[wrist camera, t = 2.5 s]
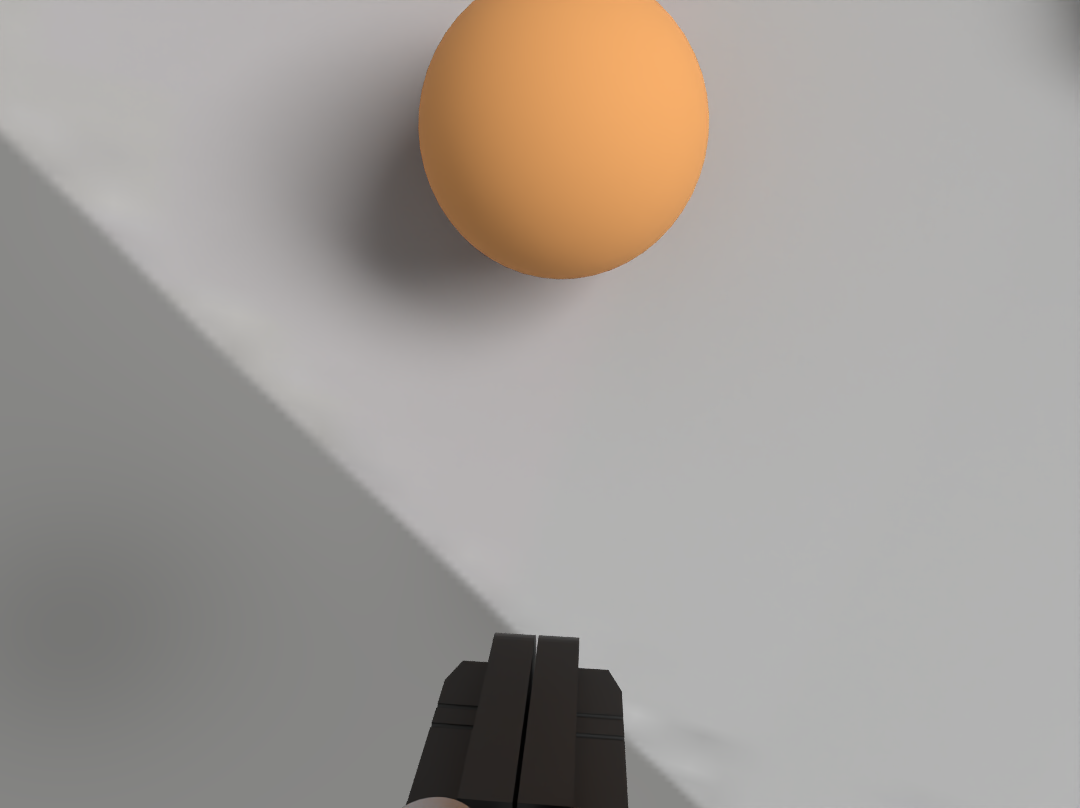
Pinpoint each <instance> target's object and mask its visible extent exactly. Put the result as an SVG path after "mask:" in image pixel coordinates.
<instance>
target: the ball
mask: <svg viewBox="0 0 1080 808" xmlns="http://www.w3.org/2000/svg"><path fill="white" fill-rule="evenodd" d="M418 131H419V142H420V151H421V156H422V160H423V165H424V169H425V172H426V175H427V178H428V181H429V184H430V187H431V189H432V191H433V193H434V195H435V197H436V199H437V201H438V203H439V205H440V207H441V208H442V210H443V211H444V213H445V214H446V216H447V217H448V219H449V221H450V222H451V223H452V224H453V226H454V227H455V228H456V229H457V230H458V231H459V233H460V234H461V235H462V236H463V237H464V238H465V239H466V240H467V241H468V242H469V243H470V244H472V245H473V246H474V247H475V248H476V249H477V250H479V251H480V252H482V253H483V254H484V255H486V256H487V257H489V258H490V259H492V260H494V261H496V262H497V263H499V264H501V265H503V266H505V267H507V268H510V269H513V270H515V271H518V272H521V273H523V274H528V275H532V276H536V277H541V278H552V279H573V278H581V277H587V276H593V275H596V274H600V273H603V272H606V271H609V270H612V269H614V268H616V267H618V266H621V265H623V264H625V263H627V262H629V261H630V260H632V259H634V258H635V257H637V256H638V255H640V254H642V253H643V252H644V251H646V250H647V249H648V248H649V247H651V246H652V245H653V244H654V243H655V242H657V241H658V240H659V239H660V238H661V237H662V236H663V235H664V234H665V233H666V231H667V230H668V229H669V228H670V227H671V226H672V225H673V223H674V222H675V221H676V219H677V218H678V217H679V215H680V214H681V213H682V211H683V209H684V208H685V206H686V204H687V202H688V201H689V199H690V197H691V195H692V193H693V191H694V189H695V186H696V184H697V181H698V179H699V176H700V173H701V170H702V166H703V163H704V159H705V155H706V148H707V142H708V132H709V111H708V101H707V93H706V88H705V84H704V80H703V75H702V72H701V69H700V67H699V64H698V61H697V59H696V56H695V53H694V52H693V50H692V48H691V46H690V44H689V42H688V40H687V38H686V36H685V35H684V33H683V32H682V31H681V29H680V28H679V26H678V25H677V24H676V22H675V21H674V19H673V18H672V17H671V16H670V15H669V14H668V13H667V12H666V11H665V9H664V8H663V7H662V6H661V5H660V4H659V3H658V2H657V1H655V0H475V1H473V2H472V3H471V4H470V5H469V6H468V7H467V8H466V9H465V10H464V11H463V12H462V13H461V14H460V15H459V16H458V17H457V19H456V20H455V21H454V23H453V24H452V25H451V27H450V28H449V29H448V30H447V32H446V33H445V35H444V37H443V38H442V40H441V42H440V44H439V45H438V47H437V49H436V51H435V53H434V55H433V58H432V60H431V62H430V65H429V67H428V70H427V73H426V77H425V80H424V84H423V88H422V93H421V99H420V106H419V125H418Z"/></svg>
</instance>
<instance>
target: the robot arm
mask: <svg viewBox="0 0 1080 808" xmlns="http://www.w3.org/2000/svg"><path fill="white" fill-rule="evenodd" d="M578 660H579V638H574V637H558V636H542V635H539V638H538V645H537V653H536V635H523V634H507V633H495V635H494V639H493V643H492V648H491V652H490V656H489V660H488V662H475V661H463V662H461V663H460V664H459V666H458V667H457V668H456V669H455V670H454V671H453V672H452V673H451V674H450V675H449V676H448V677H447V678H446V679H445V682H444V685H443V688H442V691H441V694H440V698H439V701H438V707H437V708H436V711H435V714H434V717H433V720H432V726H431V727H430V730H429V733H428V737H427V740H426V743H425V746H424V749H423V753H422V756H421V759H420V762H419V765H418V769H417V772H416V775H415V778H414V782H413V785H412V788H411V791H410V795H409V798H408V801H407V803H406V806H404V807H403V808H628V796H627V778H626V760H625V742H624V724H623V705H622V691H621V690H620V688H619V686H618V685H617V683H616V682H615V680H614V678H613V677H612V675H611V673H610V672H609V670H600V669H585V668H578Z"/></svg>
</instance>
